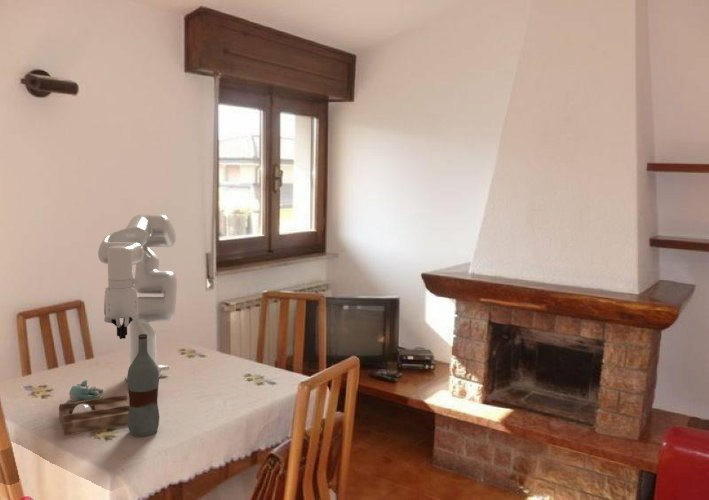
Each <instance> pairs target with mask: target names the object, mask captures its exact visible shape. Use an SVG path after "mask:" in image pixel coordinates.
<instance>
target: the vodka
mask: <svg viewBox="0 0 709 500" xmlns="http://www.w3.org/2000/svg"><path fill="white" fill-rule="evenodd" d="M147 336H148V335H147V334H140V335H138V337H139V346H138V354H137V356H136V357H135V359H134V361H133V362H132V364H131V365H130V364H129V368H128V369H127V374H128V376H127V379H126V381H127V389H128V390H127V391H128V400H129V401H128V402H129V404H130V405H129V412H128V424H127V426H128V431H129V434H130V435H131V436H132V437H135V438H137V437H138V438H144V437H150V436H153V435H155V434H156V433H157V431H158V429H159V426H160V425H159V424H160V411H159V405H158V404H159V403H158V397H159V382H160V377H159V372H158V367H157V365H158V364H157V362H156V363H155V362H154V361H153V359H152V358H151V356H150V355H149V354H148V352H147ZM156 364H157V365H156Z"/></svg>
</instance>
